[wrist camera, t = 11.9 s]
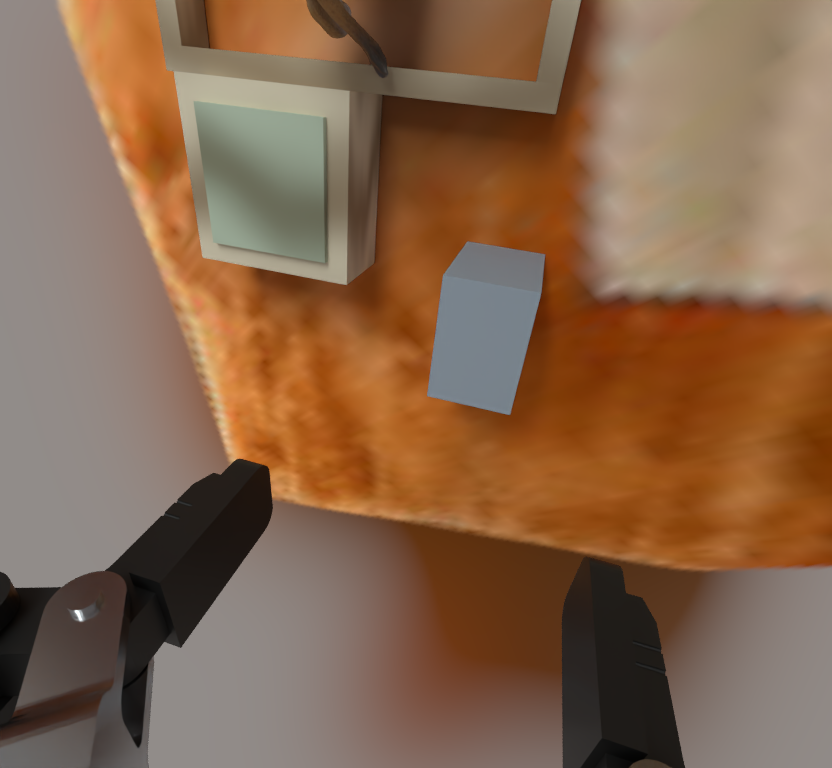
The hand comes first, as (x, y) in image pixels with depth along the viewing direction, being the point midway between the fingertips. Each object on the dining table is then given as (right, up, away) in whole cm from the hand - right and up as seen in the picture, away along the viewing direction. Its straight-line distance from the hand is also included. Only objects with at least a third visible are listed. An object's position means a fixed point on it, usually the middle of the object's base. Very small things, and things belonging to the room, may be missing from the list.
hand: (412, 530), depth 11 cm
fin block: (+4, +8, +14) cm, 16 cm away
